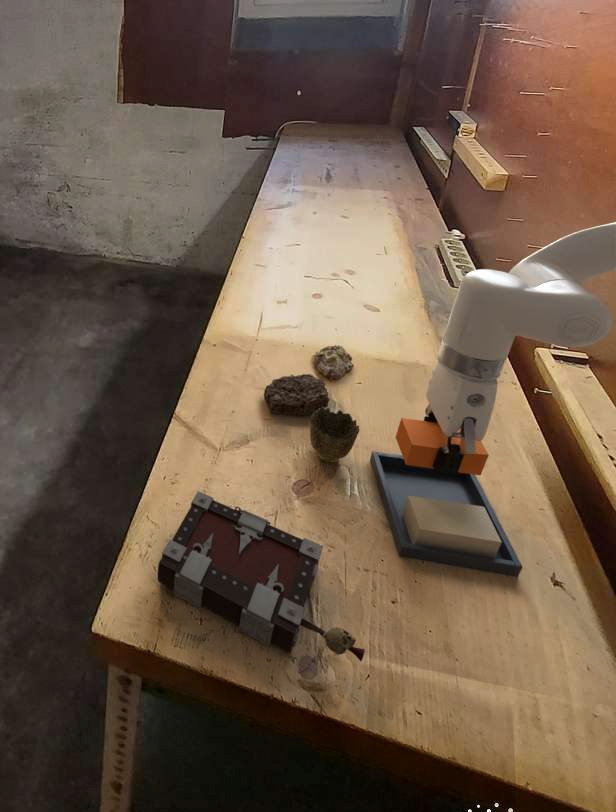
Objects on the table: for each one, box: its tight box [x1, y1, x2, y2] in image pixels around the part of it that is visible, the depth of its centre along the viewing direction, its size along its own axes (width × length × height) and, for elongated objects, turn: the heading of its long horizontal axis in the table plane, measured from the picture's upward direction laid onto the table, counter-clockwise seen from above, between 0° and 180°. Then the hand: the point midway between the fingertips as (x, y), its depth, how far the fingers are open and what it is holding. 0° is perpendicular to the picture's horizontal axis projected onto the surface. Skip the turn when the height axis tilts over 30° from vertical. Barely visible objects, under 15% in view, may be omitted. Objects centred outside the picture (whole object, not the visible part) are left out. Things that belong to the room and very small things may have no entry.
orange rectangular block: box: [395, 417, 489, 476], centre depth 85 cm, size 10×6×4 cm, turn 76°
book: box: [157, 490, 366, 662], centre depth 74 cm, size 15×25×5 cm, turn 57°
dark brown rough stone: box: [263, 373, 331, 416], centre depth 108 cm, size 12×10×5 cm
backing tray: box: [369, 451, 523, 578], centre depth 85 cm, size 15×19×3 cm
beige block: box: [402, 495, 502, 558], centre depth 80 cm, size 10×6×4 cm, turn 76°
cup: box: [309, 407, 360, 464], centre depth 95 cm, size 8×7×8 cm
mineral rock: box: [312, 344, 355, 380], centre depth 119 cm, size 11×4×8 cm
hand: (437, 452), depth 86 cm, fingers closed on orange rectangular block, 6 cm apart
